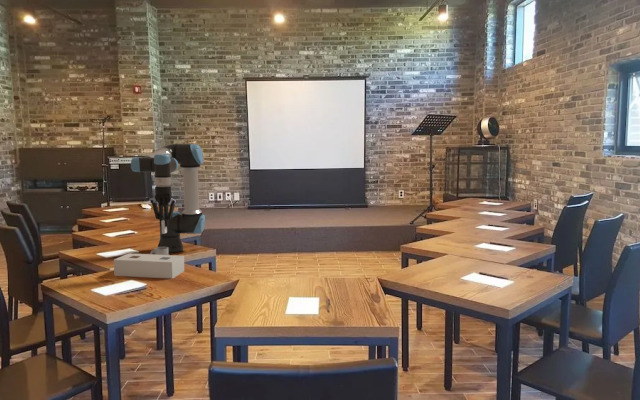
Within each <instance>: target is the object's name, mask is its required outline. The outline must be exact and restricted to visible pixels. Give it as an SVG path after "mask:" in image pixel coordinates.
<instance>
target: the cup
mask: <svg viewBox="0 0 640 400" xmlns="http://www.w3.org/2000/svg"><path fill="white" fill-rule="evenodd" d="M149 254H154V255H170V253H169V251H168V247H158V246H157V247H154V248H153V249H152V250H151V251H150V253H149Z"/></svg>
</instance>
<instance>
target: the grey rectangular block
mask: <svg viewBox="0 0 640 400" xmlns="http://www.w3.org/2000/svg"><path fill="white" fill-rule="evenodd" d="M132 256H140V257H138V258H129V257H132ZM162 257H168V258H169V259H167V260H164V259H160V258H162ZM113 272H114V273H113V274H114V275H113V276H115V277H132V278H134V277H135V278H151V279H152V278H153V279H174V278H176V277H177V276H179V275H181V274H182V273H184V272H185V255H177V254H176V255H175V254H173V255H170V254H169V255H155V253H153V254H150V253H127V254H124V255H121V256H119V257H117V258H114V259H113Z"/></svg>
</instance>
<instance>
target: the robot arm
mask: <svg viewBox="0 0 640 400" xmlns="http://www.w3.org/2000/svg"><path fill="white" fill-rule="evenodd" d="M202 150H203V149H202V148H201V146H200V145H199V144H194V143H180V144H179V143H171V144H167V145H164V146H161V147H159V148H157V149H156V150H155V151H154V152H152V153H149V154H146V155H144V156H140V157H139V156H137V157H133V158H131V161H130V169H131V170H132V172H135V173H154V186H155V187H154V194H155V196H154V198H153V199H150V203H151V205H152V208H153V213H154V217H155V219H156V220H159V221H158V222H159V241H158V244H157V247H168V251H169V254H172V253H179V252H183V251H184V244H183V242H182V239H181V235H182V234H183V235H186V234H187V235H188V234H190V235H191V234H193V235H196V234H197V235H198V234H200V235H201V234H202V233H203V231H204V229H205V226H206V215H205V214H203V211H202V210H201V209H200V200H199V199H200V196H199V195H200V194H199V190H200V189H199V169H200V168H201V165H202V164H203V163H204V153H203V151H202ZM178 167H179V168H180V169H181V170H182V181H183V183H182V185H183V205H184V209H183V211H182V212H181V213H180V212H179V211H175V205H176V204H177V201H178V200H176V199H174V198H173V196H172V186H171V185H172V179H171V177H172V173H174V172H175V171H177V169H178ZM169 204H170V205H169Z"/></svg>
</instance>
